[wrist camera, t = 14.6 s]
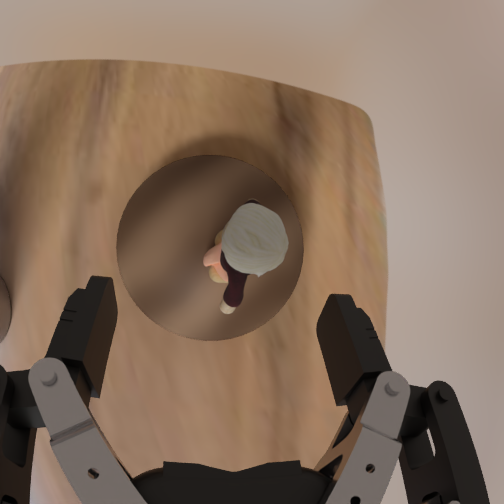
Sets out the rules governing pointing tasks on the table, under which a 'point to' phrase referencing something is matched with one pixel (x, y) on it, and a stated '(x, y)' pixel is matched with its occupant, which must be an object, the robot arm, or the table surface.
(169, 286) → the walnut plinth
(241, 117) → the table surface
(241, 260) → the grandmother figurine
